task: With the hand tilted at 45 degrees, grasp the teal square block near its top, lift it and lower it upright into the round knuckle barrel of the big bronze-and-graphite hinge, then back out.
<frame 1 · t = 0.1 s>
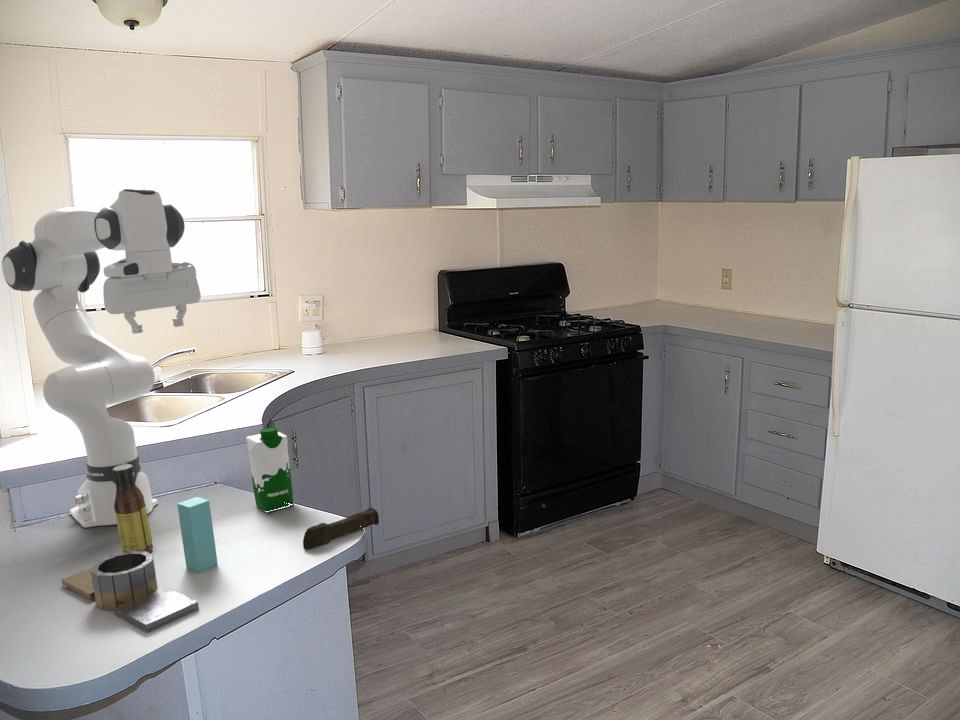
hand: (158, 329, 174), 48 cm above the countertop, tool pointing down, fingers open, 8 cm apart
milk carton: (274, 506, 201), on the countertop
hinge: (127, 597, 156), on the countertop
hand tool: (342, 538, 179), on the countertop
sauce bottle: (137, 554, 177), on the countertop
teal square block: (202, 566, 168), on the countertop
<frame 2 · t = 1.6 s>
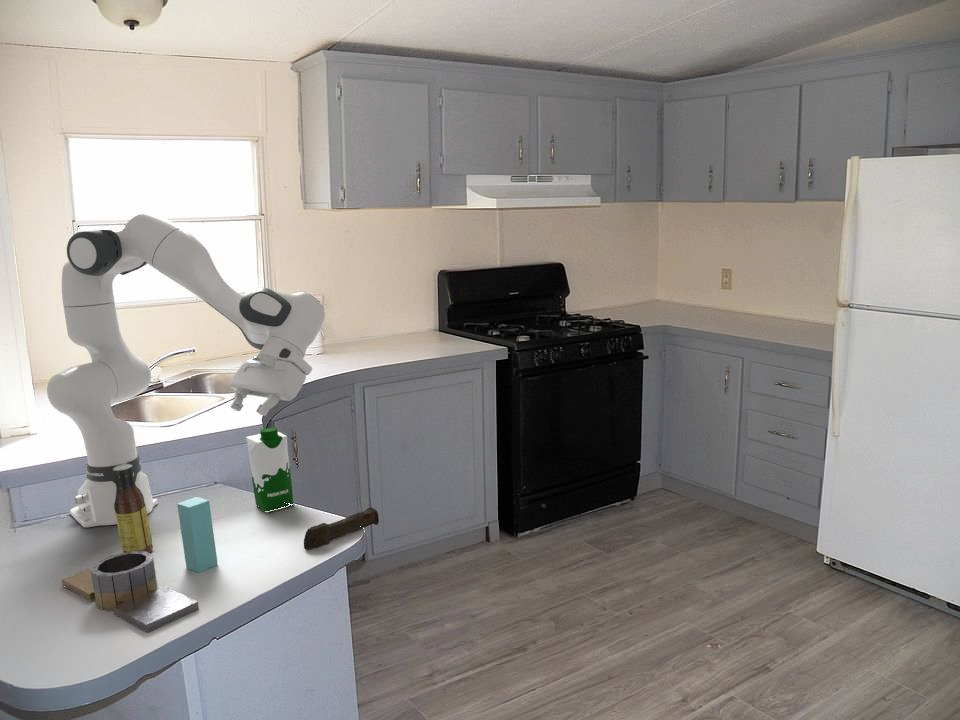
hand: (247, 411, 174), 29 cm above the countertop, tool tilted 45°, fingers open, 8 cm apart
nothing on the countertop moved.
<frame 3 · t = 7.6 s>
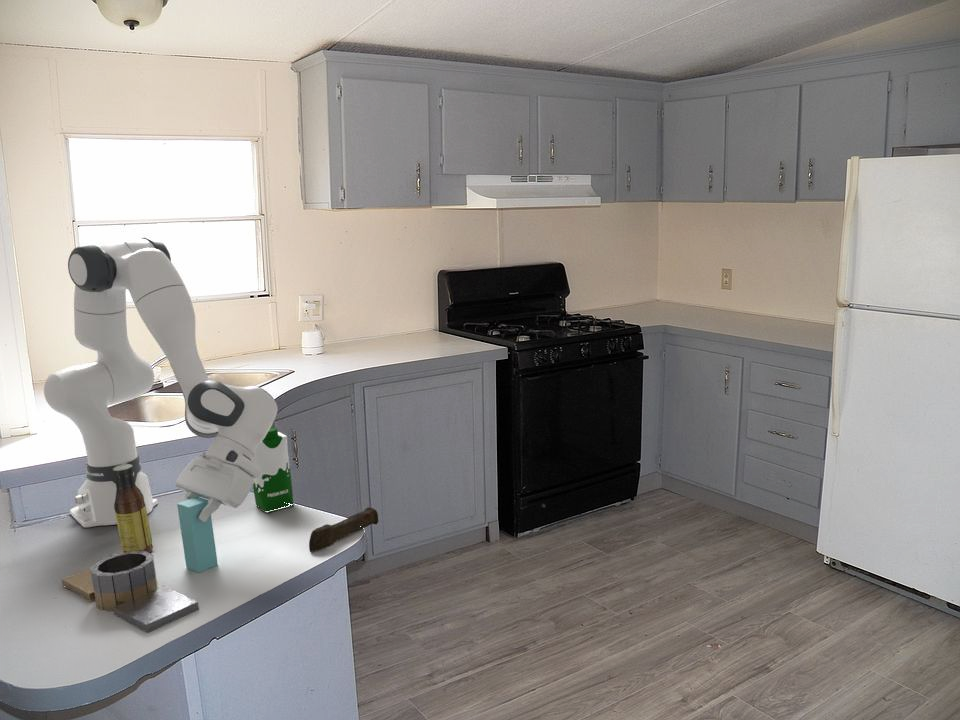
hand: (192, 517, 166), 11 cm above the countertop, tool tilted 45°, fingers closed on teal square block, 4 cm apart
teal square block: (202, 566, 168), on the countertop, touching gripper
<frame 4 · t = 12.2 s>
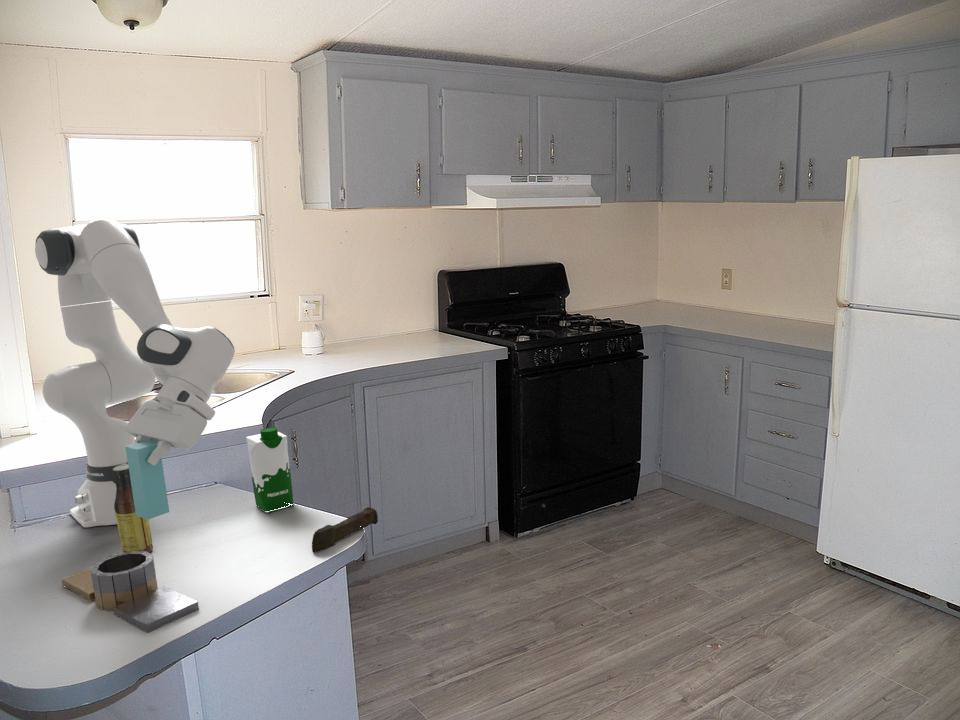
hand: (141, 461, 156), 25 cm above the countertop, tool tilted 45°, fingers closed on teal square block, 4 cm apart
teal square block: (152, 513, 159), point 14 cm above the countertop, touching gripper
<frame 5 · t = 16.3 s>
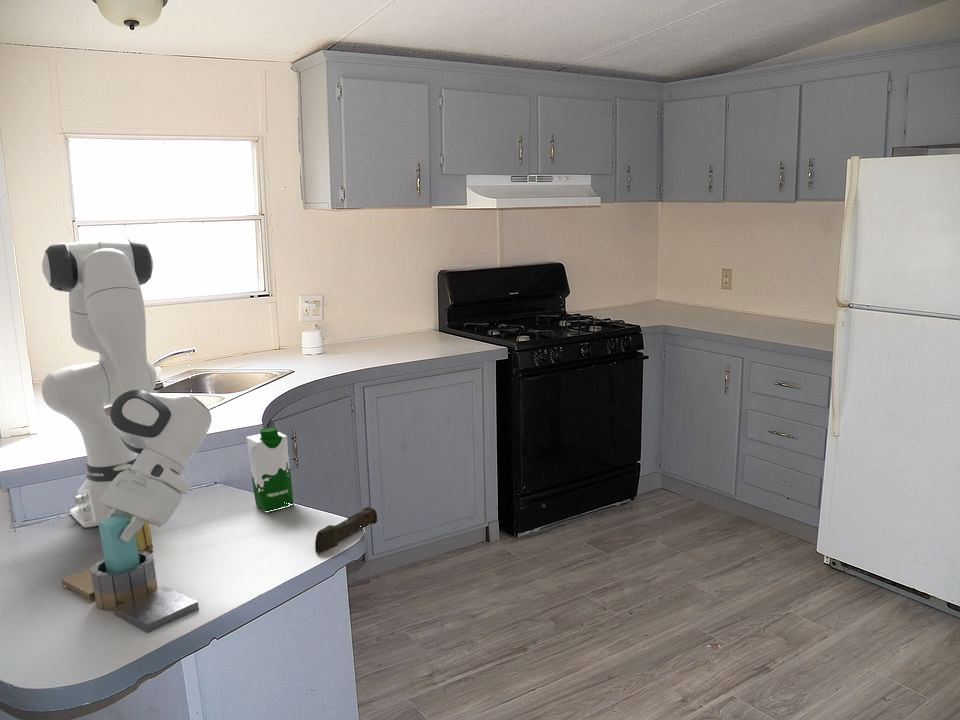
hand: (114, 536, 153), 13 cm above the countertop, tool tilted 45°, fingers closed on teal square block, 4 cm apart
teal square block: (126, 589, 156), point 2 cm above the countertop, touching gripper
when the fingers open (12 cm above the countertop, at t = 17.2 s): teal square block drops 1 cm, resting in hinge.
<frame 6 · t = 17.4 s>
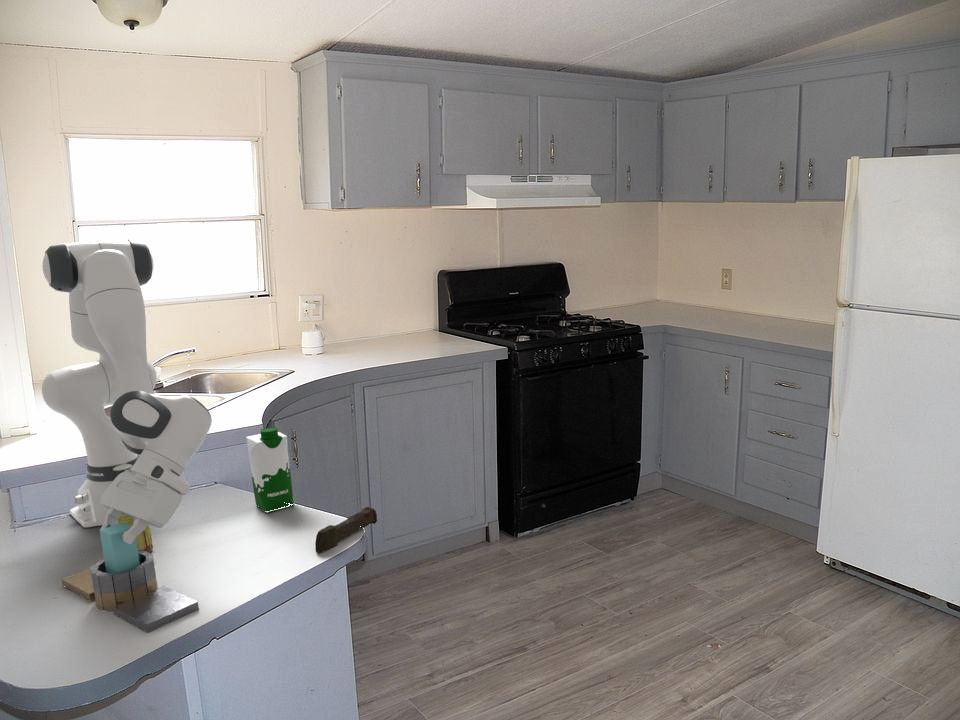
hand: (114, 537, 153), 12 cm above the countertop, tool tilted 45°, fingers open, 7 cm apart
teal square block: (127, 597, 156), resting in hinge
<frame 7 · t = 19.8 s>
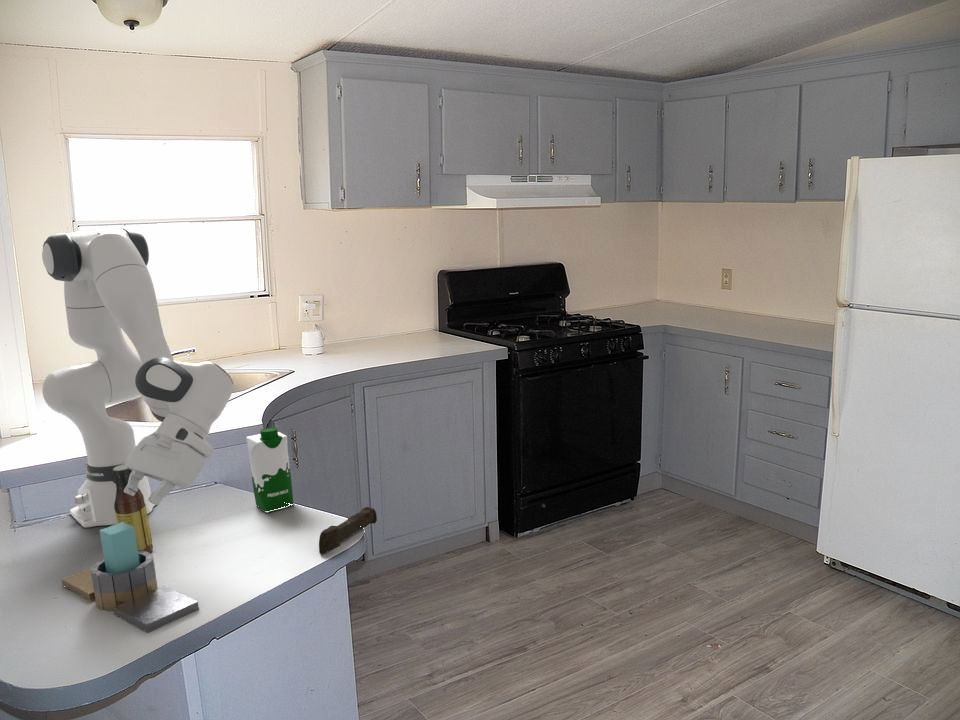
hand: (140, 498, 157), 18 cm above the countertop, tool tilted 45°, fingers open, 8 cm apart
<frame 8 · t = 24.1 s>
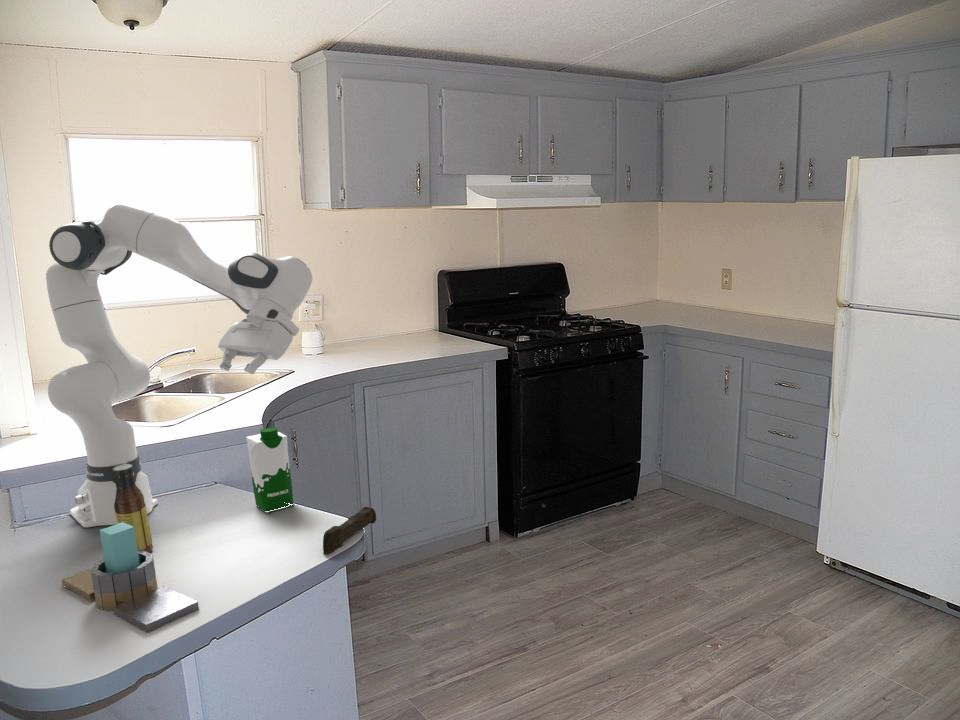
hand: (235, 371, 178), 37 cm above the countertop, tool tilted 45°, fingers open, 8 cm apart
at the end: teal square block 0.1 cm off-centre on the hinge, point 0.0 cm above the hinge's base; teal square block tilted 0°; the gripper is holding nothing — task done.
